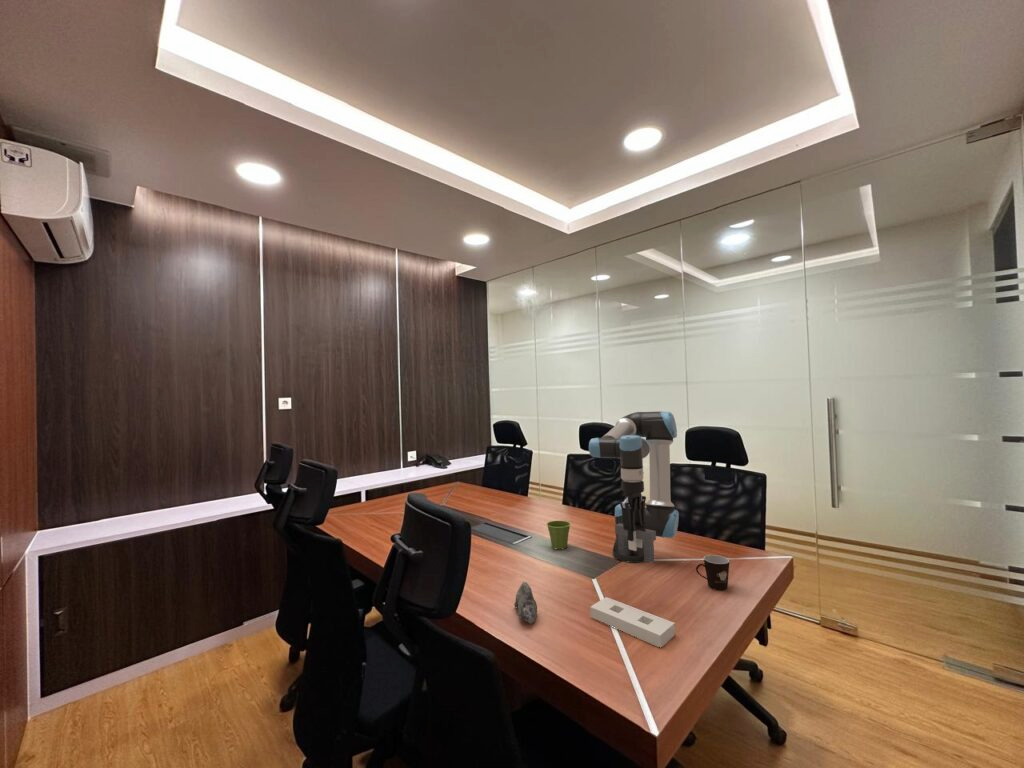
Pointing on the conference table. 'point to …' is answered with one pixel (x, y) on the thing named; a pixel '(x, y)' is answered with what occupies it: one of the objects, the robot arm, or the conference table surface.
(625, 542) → the dark grey u-shaped bracket
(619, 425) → the robot arm
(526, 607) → the mineral rock
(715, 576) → the coffee mug
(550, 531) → the plant pot
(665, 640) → the white slotted block
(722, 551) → the conference table surface
